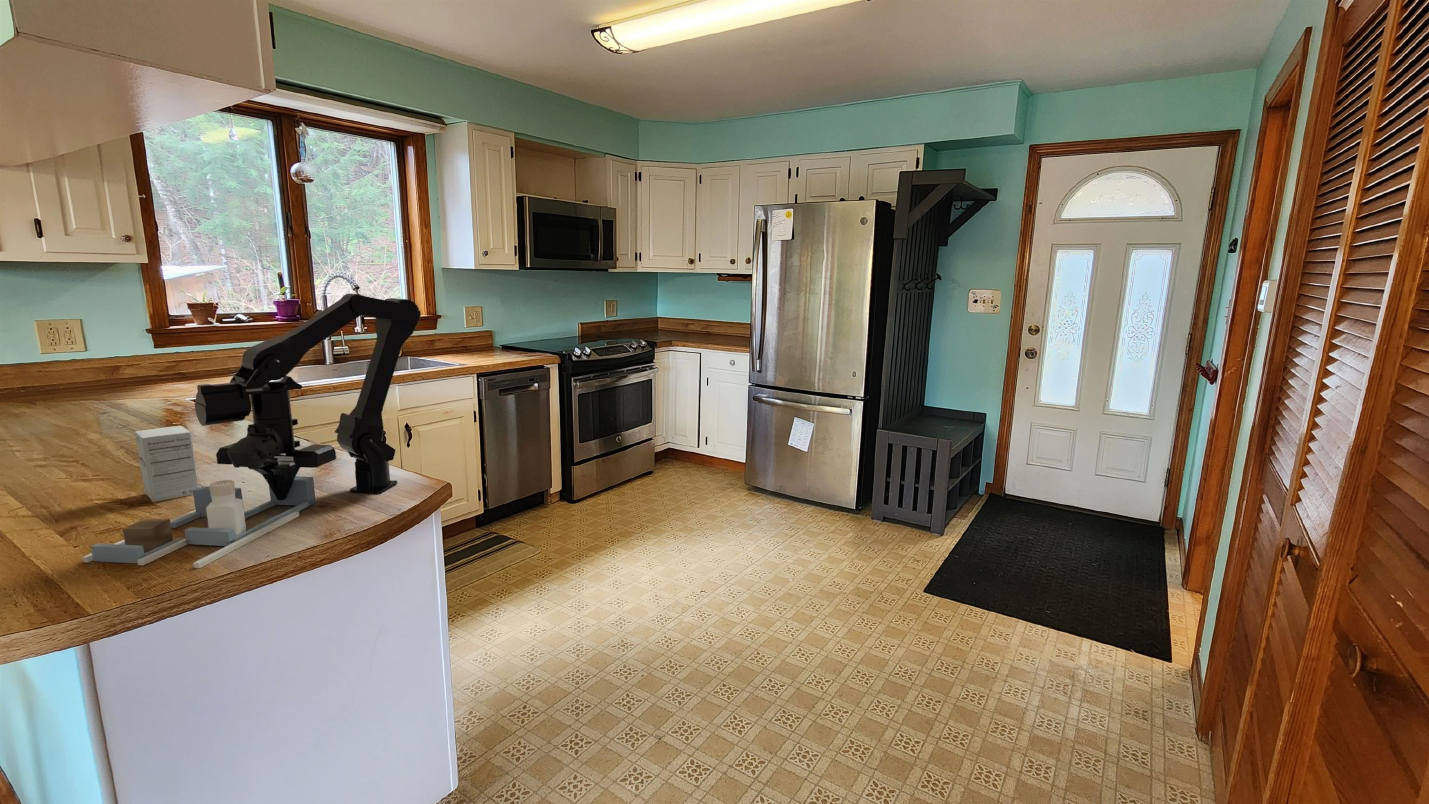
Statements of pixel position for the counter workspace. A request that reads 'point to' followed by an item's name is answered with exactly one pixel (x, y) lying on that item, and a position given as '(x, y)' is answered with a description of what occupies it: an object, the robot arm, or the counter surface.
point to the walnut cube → (148, 533)
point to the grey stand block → (298, 496)
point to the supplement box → (167, 462)
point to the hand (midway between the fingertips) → (282, 499)
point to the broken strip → (136, 552)
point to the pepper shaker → (225, 508)
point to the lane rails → (214, 555)
